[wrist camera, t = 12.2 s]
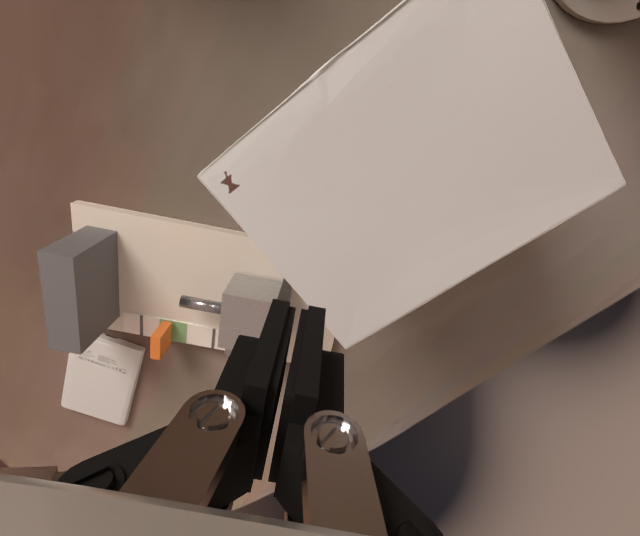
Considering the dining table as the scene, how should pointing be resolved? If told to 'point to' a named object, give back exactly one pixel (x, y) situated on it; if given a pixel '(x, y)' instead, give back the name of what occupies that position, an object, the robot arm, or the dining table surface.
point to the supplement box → (417, 159)
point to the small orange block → (160, 340)
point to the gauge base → (144, 277)
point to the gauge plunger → (241, 307)
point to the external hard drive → (103, 379)
